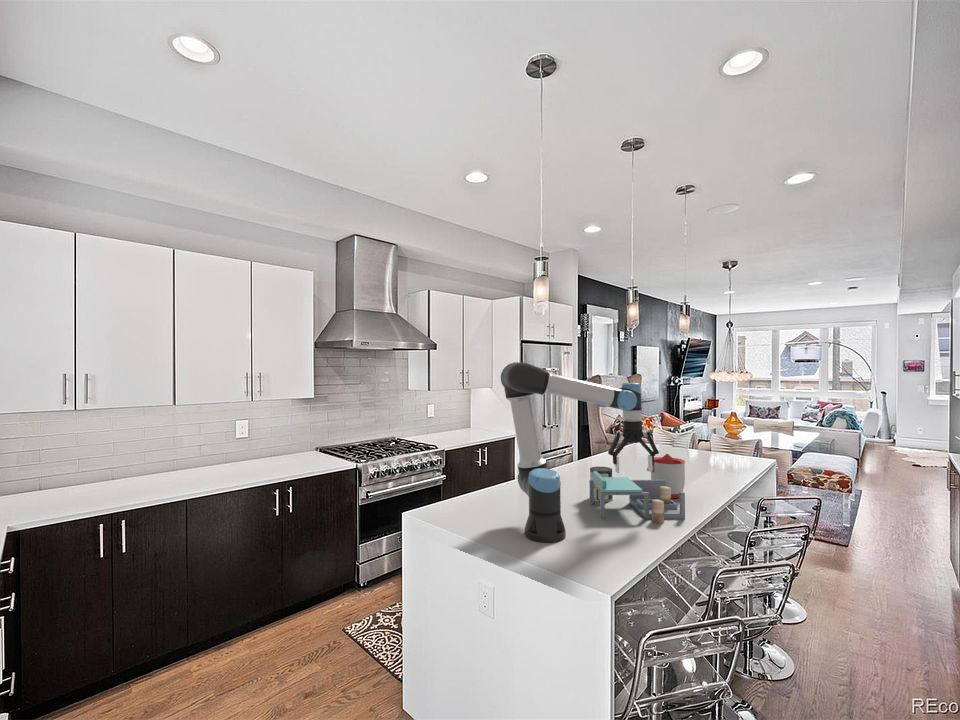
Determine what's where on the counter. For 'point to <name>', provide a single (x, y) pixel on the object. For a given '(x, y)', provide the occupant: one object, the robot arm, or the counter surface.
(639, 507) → the frame
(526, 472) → the robot arm
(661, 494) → the tan wooden cylinder
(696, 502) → the counter surface
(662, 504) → the tan rounded cylinder
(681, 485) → the citrus juicer
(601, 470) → the coffee can
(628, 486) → the lid
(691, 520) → the counter surface
